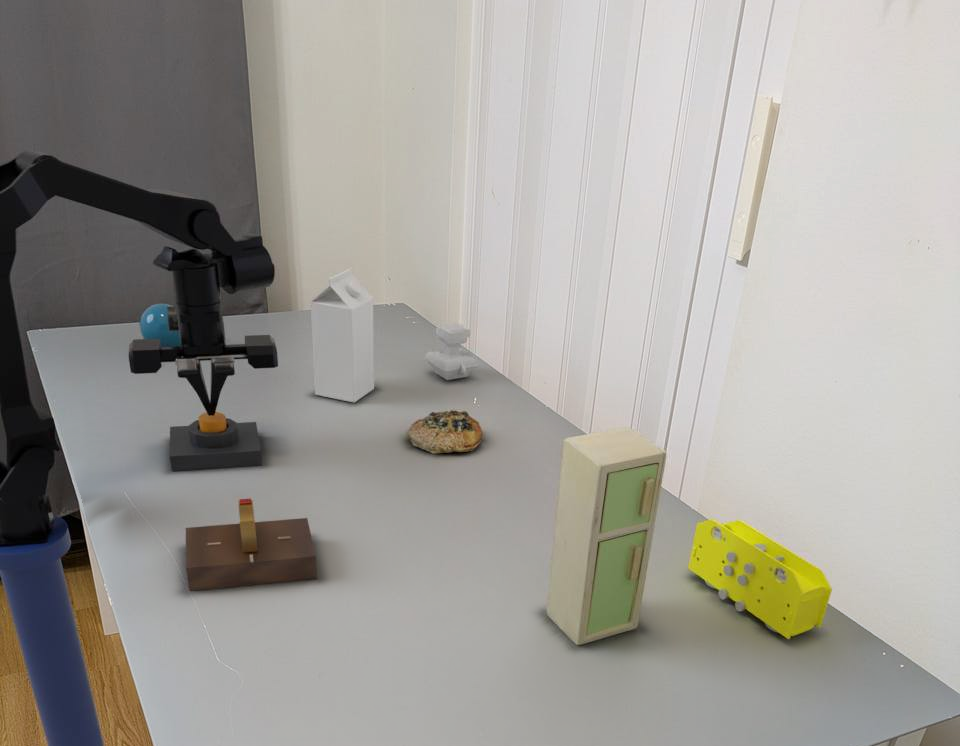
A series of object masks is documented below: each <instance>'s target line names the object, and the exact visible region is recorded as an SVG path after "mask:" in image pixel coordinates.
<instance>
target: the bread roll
mask: <svg viewBox="0 0 960 746" xmlns="http://www.w3.org/2000/svg"><path fill="white" fill-rule="evenodd" d="M407 436H408V440H409V441H410V443H411V444H412V446H413V447H416V448H420V449H421V450H424V451H427V452H429V453H431V454H444V453H447V454H449V453H452V452H456V453H457V452H458V453H465V452H466V453H467V452H473V451H474V450H476V448H477V447H478V446H479V445H480V444H481V443H482V441H483V439H484V434H483V430H482V427H481V425H480V422H479V421H478V420H476V419H475V418H473V417H472V416H470V414H469V412H468V411H466V410H462V411H458V410H456V409H451V410H450V411H446V410H445V411H438V412H434V411H432V412H430V413H429V414H428V415H427V416H425V417H424V418H421V419H420V418H419V419H417V420H416V421H414V422H413V423H412V424H411V425H410V427H409V428H408V431H407Z"/></svg>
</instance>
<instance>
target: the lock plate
mask: <svg viewBox="0 0 960 746" xmlns="http://www.w3.org/2000/svg"><path fill="white" fill-rule="evenodd" d="M255 528H256V538H257V549H258V551H257V552H245V553H244V552H243V547H242V537H241V528H240V522H238V523H229V524H228V523H227V524H215V525H204V526H191V527H190V526H189V527H185V528H184V529H185V571H186V578H187V584H188V588H189V589H188V591H189V592H192V591H201V590H203V591H204V590H214V589H223V588H234V587H243V586H244V587H245V586H253V585H254V586H255V585H264V584H275V583H283V582H284V583H287V582H293V581H294V582H296V581H305V580H306V581H307V580H317V579H318V569H317V567H318V566H317V555H316V551H315V550H316V549H315V546H314V542H313V538H312V534H311V533H312V532H311V529H310V525H309V520H308V517H304V518H303V517H302V518H301V517H300V518H290V519H277V520H267V521H266V520H265V521H264V520H263V521H255Z"/></svg>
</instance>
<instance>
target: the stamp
mask: <svg viewBox="0 0 960 746" xmlns="http://www.w3.org/2000/svg"><path fill="white" fill-rule="evenodd" d="M435 335H436V336H437V338H438V340H440V341H441V342H443V343H444V349H437V350H430V351H428V352H427V353H426V355H425V360H426V362H427V363H428V365H429V366H430V367H431V369H432V371H433V372H434V373H435V374H437V375H438V376H440V377H441V378H443V379H444V380H445V381H452V380H457V379H463V378H467V377H470V375H471V374H472V373H474V371H475V370H476V369H477V368H478V367H479V362H478V359H477V358H476V357H474V356H473V355H471V354H470V353H468V352H467V351H465V350H463V349H462V348H460V347H461V344H465V343H466V344H467V342H468V339H469V338H471V329H470V328H468V327H466V326H464V325H462V324H460V323H459V322H456V323H451V324H446V325H440V326H436V329H435Z"/></svg>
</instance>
